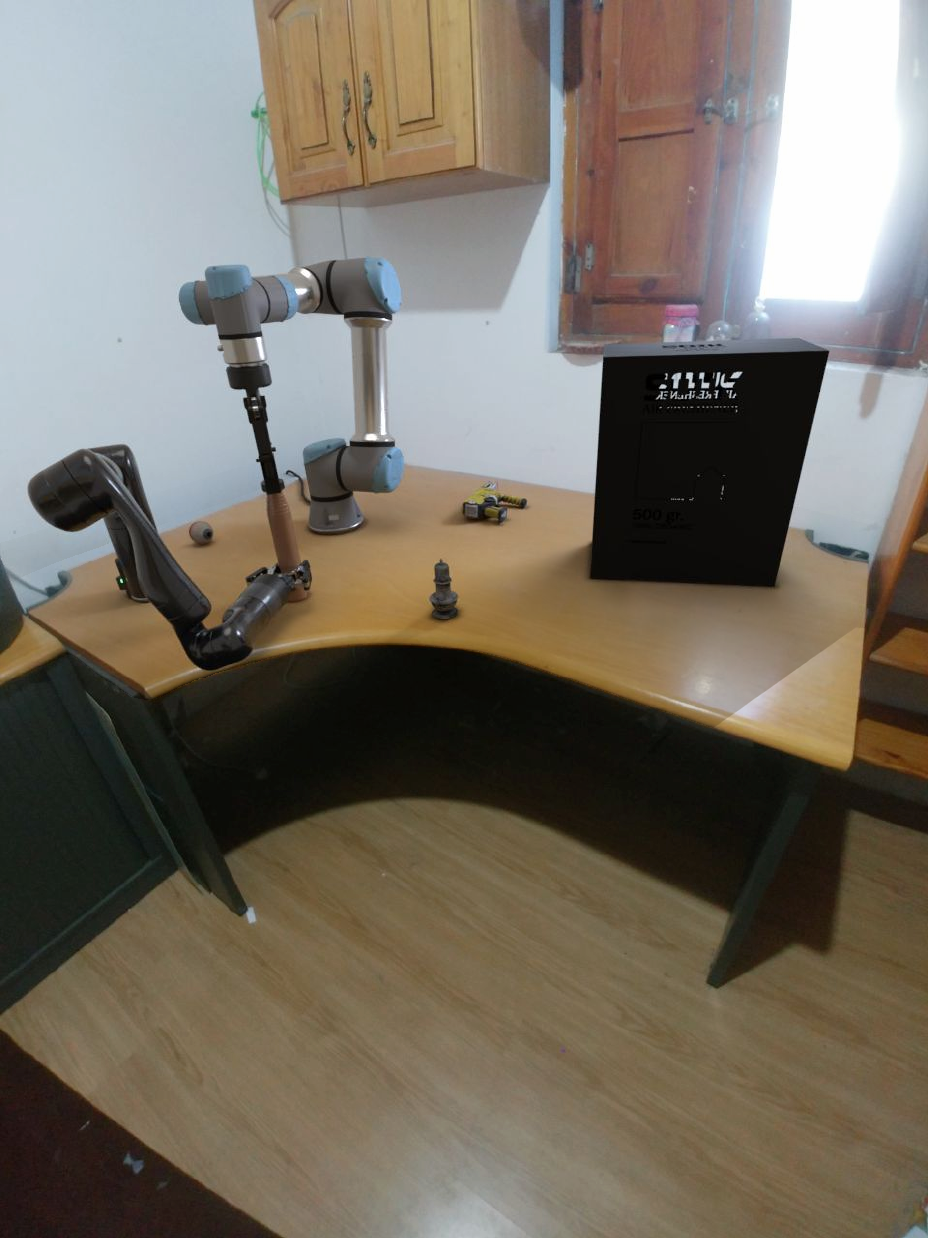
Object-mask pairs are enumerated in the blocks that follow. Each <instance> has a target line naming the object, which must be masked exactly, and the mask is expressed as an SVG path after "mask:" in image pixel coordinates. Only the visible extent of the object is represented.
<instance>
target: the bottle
mask: <svg viewBox="0 0 928 1238" xmlns="http://www.w3.org/2000/svg"><path fill="white" fill-rule="evenodd" d="M265 495H266V497H265V500H266V501H265V503H266V504H265V507H266V515H267V516H266V517H267V521H268V524H269V529H270V534H271V537H272V542H273V546H274V551H275V555H276V560H277V562H278V565H279V569H280V574H281V573H285V572H287V571H288V570H290V569H296V568H297V567H298V566H299V565H300V564H301V563H302V561H301V556H300V553H299V551H300V550H299V547H298V541H297V537H296V533H295V532H296V531H295V528H294V523H293V518H292V514H291V513H292V512H291V508H290V505H289V504H288V501H287V498H286V495H285V494H284V492H283V490H281V493H276V494H269V495H267V493H266V492H265ZM298 576H299V573H298ZM307 597H308V591H305V590H304V588H296V590H295V591H293V592H291V593H290V596H289V599H288V601H287V602H299V601H303V600H305V599H306V598H307Z"/></svg>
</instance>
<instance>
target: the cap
mask: <svg viewBox="0 0 928 1238" xmlns="http://www.w3.org/2000/svg"><path fill="white" fill-rule="evenodd" d="M278 479H279V484H280V489H281V490H282V491H283V490H285V489H286V485H285V481H284V479H283V478H279V477H278ZM260 487H261V490H262V492H263V493H265V494H266V493H267V492H266V487H265V483H264V480H262V481H261V482H260Z"/></svg>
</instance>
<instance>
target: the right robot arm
mask: <svg viewBox="0 0 928 1238" xmlns="http://www.w3.org/2000/svg"><path fill="white" fill-rule="evenodd" d="M204 278H205V280H194V281H188V282H185V283H184V284H182V285H181V287H180V289H179V292H178V303H179V306H180V311H181V312H182V314H183V315H184V317H185V318H186V320H188V321H189V322H190V323H192V324H194V325H198V326H199V325H201V326H206V327H207V326H213V325H214V326H215V327H216V331H217V336H218V340H219V343H220V345H217V346H216V347H217V348H216V349H217V351H218V352H223V353H222V357H223V363H224V364H226V365H228V366H226V369H225V372H226V376H227V377H226V378H227V381H228V385H229V388H230V389H232V390H234V391H235V390H236V391H241V390H244V391H245V394H246V396H245V397H242V403H243V407H244V409H245V410H246V413H247V417H248V418H247V419H248V423H249V424H250V425H251V426H252V431H253V435H254V439H255V444H256V449H257V453H258V458H255V463H259V464H260V469H261V473H262V478H263V481H264V483H265V487H266V492H267V495H269V494H276V493H281V489H280V484H279V479H278V478H279V473H278V469H277V463H276V458H275V454H274V452H275V453H276V452H277V448H276V446H272V445H273V444H272V442H271V438H270V434H269V429H268V424H267V423H268V422H269V417H268V411H267V405H268V404H267V400H266V395H261V393H260V388H268V387H270V386H271V385H272V384H273V379H272V375H271V370H270V365H269V364H268V363H267V362H266V361H267V360H268V359H269V358H268V353H267V349H266V343H265V338H264V335H263V329H262V325H263V324H271V323H284V322H285V321H287V320H290V319H292V318H294V317H295V315H297V313H299V314H302V315H308V314H322V315H331V316H332V315H333V316H334V315H335V316H343V322H344V323H345V325H347V327H348V328H349V330H350V345H351V348H350V349H351V369H352V371H351V372H352V393H353V394H352V395H353V416H354V419H353V420H354V433H353V435H352V436H350V438H349V445H347V441H346V439H345V438H342V437H334V438H328V439H323V440H320V441H319V440H318V441H316V442H313V443H309V444H308V445H306V446H305V447H304V448H303V450H302V457H303V458H302V460H303V467H304V471H305V477H306V481H307V486H308V492H309V498H310V499H309V498H307V496H306V494H305V491H304V490H305V488H304V480H303V479H302V477H301V476H300V474H297V473H296V472H294V471H292V470H290V469H288V470H286V471H285V475H288V474H289V473H290V474H291V475H293V476H295V477H296V478H297V479H298V480H299V482H300V494H301V496H302V498H303V500H304V501H305V502H306V503H308V504H310V507H309V513H308V523H307V524H308V528H309V529H308V530H310V531H311V532H312V533H314V534H317V535H323V536H324V535H325V536H327V535H329V536H331V535H339V534H340V535H341V534H345V533H350V532H353V531H355V530H357V529H359V528H361V527H362V526H363V525H364V523H365V519H364V514H363V512H362V510H361V508H360V505H359V504H358V501H357V500H356V498H355V495H354V492H359V493H374V494H375V495H377V494H390V493H392V492H394V491H396V489H397V488H398V487H399V485H400V483H401V481H402V479H403V476H404V470H405V456H404V454H403V450H402V449H401V448H399V447H398V446H396V440H395V438H394V437H393V436H392V435H391V434H390V423H389V386H388V385H389V384H388V382H389V381H388V353H387V352H388V343H387V330H388V329H389V328H390V327H391V326H392V324H393V315H394V314H397V313H398V312H399V311H400V309H401V305H402V289H401V284H400V281H399V277H398V274H397V273H396V270H395V268H394V267H393V265H392V264H391V263H390V261H388V260H387V258H386V259H385V258H384V257H371V256H366V257H357V258H356V257H355V258H347V259H346V258H345V259H331V260H325V261H321V262H317V263H313V264H309V265H305V266H302V267H301V266H300V267H294V268H292V269H290V270H288V272H287V273H278V274H267V275H255V276H252V274H251V271H250V268H249V267H248V266H247V265H246V264H220V265H210V266H207V267H206V268H205V270H204ZM266 492H265V493H266ZM267 495H266V496H267Z"/></svg>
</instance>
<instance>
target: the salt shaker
mask: <svg viewBox="0 0 928 1238" xmlns="http://www.w3.org/2000/svg"><path fill="white" fill-rule="evenodd" d="M438 561H439V562H437V563H435V564H434V568H433V570H434V578H433V580H432V581H433V583H434V587H435V591H434V592H432V593H431V594H430V595H429V597H428V600H429V601H430V603H431V605H432V607H433V608H434V609H433V610H432V611H431V615H432V616H433V618H436V619H439V620H448V619H452V618H454V617H456V616H457V615H458V614H459V610H458V608H457V607H456V605H457V603H458V600H459V594H458V592H456V591H453V590H452V587H451V586H452V585H451V582H452V577H450V566H449V563H447V562H444V560H443V559H442V558H440V559H439V560H438Z"/></svg>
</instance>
